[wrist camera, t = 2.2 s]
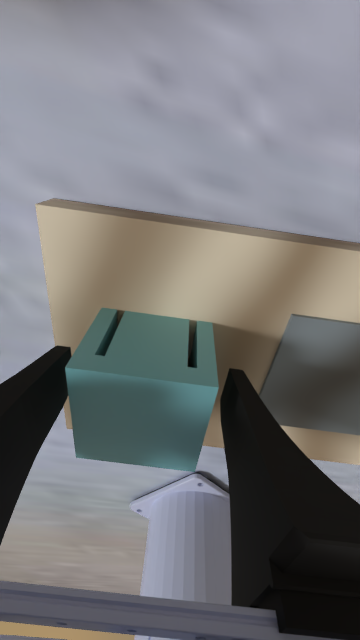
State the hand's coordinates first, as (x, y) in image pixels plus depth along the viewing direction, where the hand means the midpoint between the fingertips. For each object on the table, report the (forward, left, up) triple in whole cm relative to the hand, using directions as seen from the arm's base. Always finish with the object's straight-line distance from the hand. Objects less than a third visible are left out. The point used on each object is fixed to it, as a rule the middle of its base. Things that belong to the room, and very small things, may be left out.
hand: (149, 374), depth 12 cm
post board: (-4, -3, -3) cm, 5 cm away
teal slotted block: (0, 0, -1) cm, 1 cm away
